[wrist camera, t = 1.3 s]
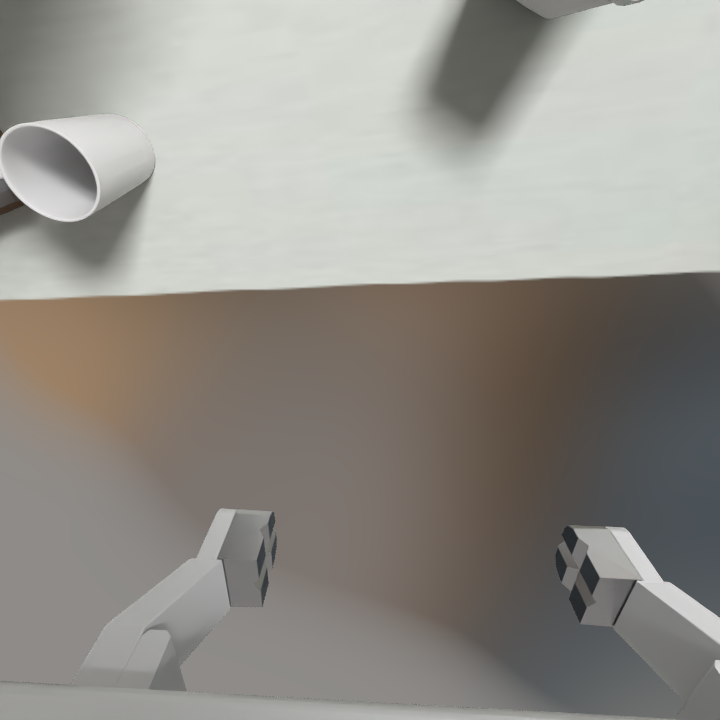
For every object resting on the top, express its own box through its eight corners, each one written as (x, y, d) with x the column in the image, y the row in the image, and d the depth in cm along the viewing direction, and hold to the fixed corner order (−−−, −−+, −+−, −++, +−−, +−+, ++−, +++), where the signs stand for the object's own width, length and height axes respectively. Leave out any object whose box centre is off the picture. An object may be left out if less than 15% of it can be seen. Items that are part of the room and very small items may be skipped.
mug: (147, 110, 38) (80, 123, 28) (166, 187, 41) (113, 222, 32) (36, 108, 37) (-73, 121, 27) (65, 186, 41) (-21, 221, 31)
